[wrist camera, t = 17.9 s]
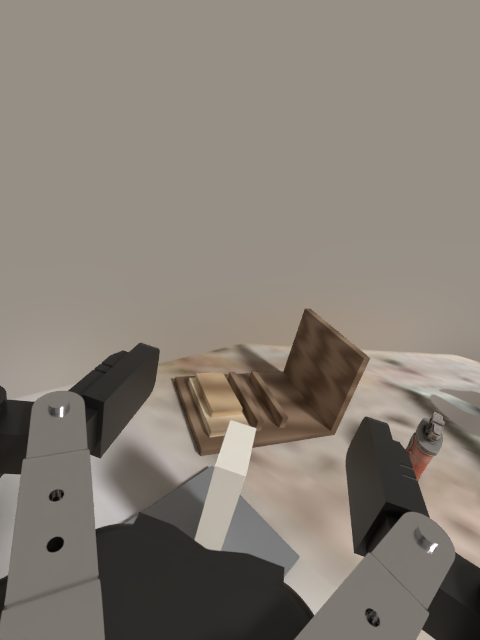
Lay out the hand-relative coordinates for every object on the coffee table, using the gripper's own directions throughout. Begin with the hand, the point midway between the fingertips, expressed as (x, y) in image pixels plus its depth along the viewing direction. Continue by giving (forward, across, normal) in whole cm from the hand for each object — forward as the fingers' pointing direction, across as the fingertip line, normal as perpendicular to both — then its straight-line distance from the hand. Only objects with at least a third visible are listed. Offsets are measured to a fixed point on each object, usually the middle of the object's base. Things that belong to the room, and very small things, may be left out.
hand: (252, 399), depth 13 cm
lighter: (+33, -26, +28) cm, 50 cm away
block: (+11, 0, +27) cm, 30 cm away
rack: (+35, 0, +28) cm, 45 cm away
